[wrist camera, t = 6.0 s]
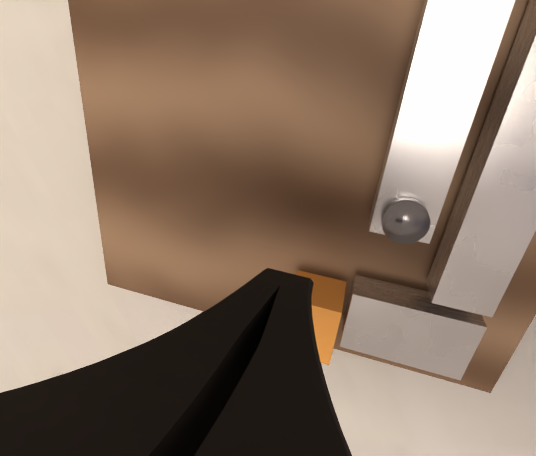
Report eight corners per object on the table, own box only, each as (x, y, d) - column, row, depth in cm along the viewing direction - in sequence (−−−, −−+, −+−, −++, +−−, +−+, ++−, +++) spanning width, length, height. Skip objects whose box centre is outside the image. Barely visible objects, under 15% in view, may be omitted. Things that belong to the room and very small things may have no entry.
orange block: (334, 329, 17) (329, 365, 15) (289, 317, 18) (277, 350, 16) (346, 281, 16) (341, 313, 14) (297, 269, 16) (285, 298, 14)
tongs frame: (454, 353, 16) (464, 392, 14) (342, 324, 17) (338, 356, 15) (974, -761, 5) (1316, -1241, 3) (586, -645, 6) (676, -954, 4)
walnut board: (485, 379, 17) (490, 392, 16) (116, 277, 22) (107, 284, 21) (1225, -967, 5) (1368, -1143, 4) (14, -540, 10) (-15, -588, 9)
